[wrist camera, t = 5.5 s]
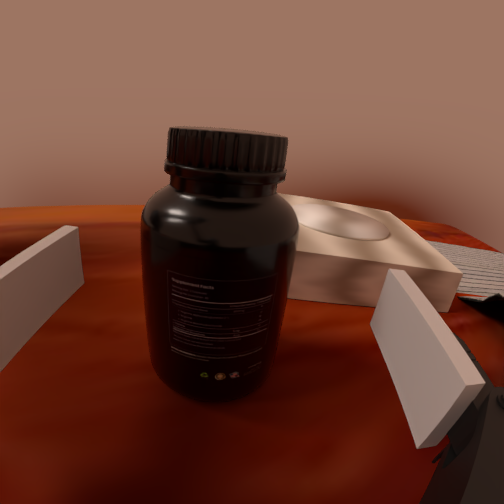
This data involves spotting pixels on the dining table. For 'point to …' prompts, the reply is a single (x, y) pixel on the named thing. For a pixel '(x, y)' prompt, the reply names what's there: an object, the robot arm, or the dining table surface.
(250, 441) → the dining table surface
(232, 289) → the supplement bottle
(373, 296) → the stand
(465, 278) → the mat
